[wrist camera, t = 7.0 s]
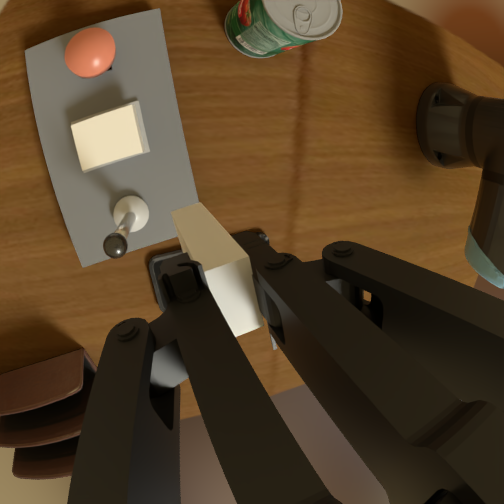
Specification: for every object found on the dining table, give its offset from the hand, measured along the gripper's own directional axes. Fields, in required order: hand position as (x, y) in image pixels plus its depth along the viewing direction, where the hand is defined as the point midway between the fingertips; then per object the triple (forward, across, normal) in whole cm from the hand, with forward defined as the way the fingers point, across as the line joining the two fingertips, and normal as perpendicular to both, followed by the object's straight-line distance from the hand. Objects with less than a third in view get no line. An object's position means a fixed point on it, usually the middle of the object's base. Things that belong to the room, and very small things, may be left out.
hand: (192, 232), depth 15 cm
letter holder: (+21, +27, +23) cm, 41 cm away
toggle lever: (+16, +4, +3) cm, 17 cm away
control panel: (+20, +4, -5) cm, 21 cm away
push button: (+18, +4, -13) cm, 23 cm away
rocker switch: (+16, +4, -5) cm, 17 cm away
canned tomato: (+20, -14, -14) cm, 29 cm away
